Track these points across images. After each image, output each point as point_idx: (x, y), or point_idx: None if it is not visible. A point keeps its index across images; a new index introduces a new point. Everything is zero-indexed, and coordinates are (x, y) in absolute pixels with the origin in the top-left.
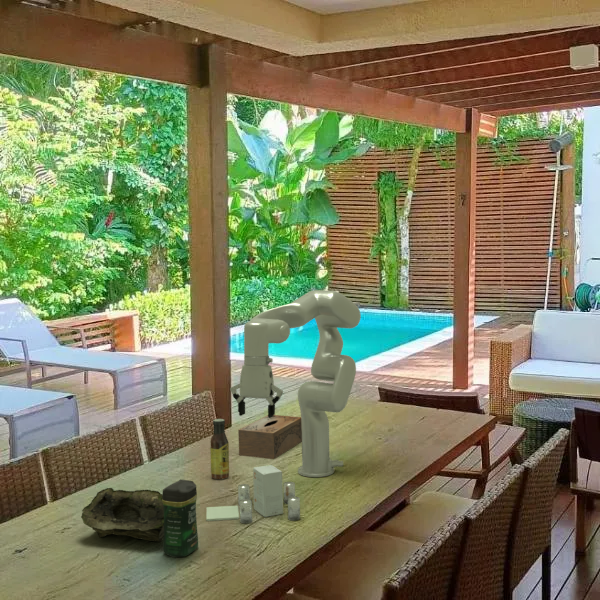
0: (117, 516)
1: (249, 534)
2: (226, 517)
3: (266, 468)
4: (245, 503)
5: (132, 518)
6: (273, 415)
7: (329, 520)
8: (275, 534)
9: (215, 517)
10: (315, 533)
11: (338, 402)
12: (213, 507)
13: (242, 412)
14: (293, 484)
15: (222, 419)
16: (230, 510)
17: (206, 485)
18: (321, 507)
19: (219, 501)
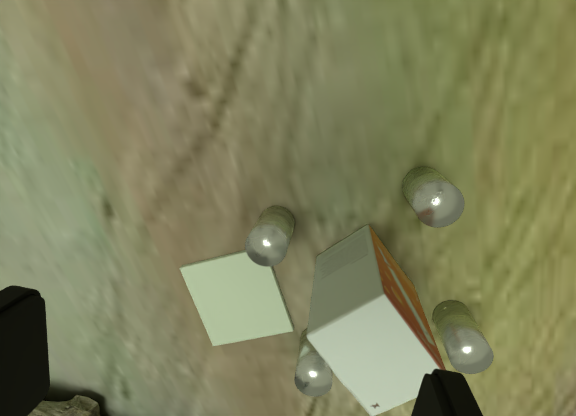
0: None
1: (345, 411)
2: (260, 334)
3: (371, 351)
4: (316, 395)
5: (57, 404)
6: (459, 381)
7: (563, 324)
8: (410, 411)
9: (231, 335)
10: (518, 405)
11: None
12: (198, 267)
13: (23, 390)
14: (459, 216)
15: None
16: (254, 286)
17: (85, 43)
18: (540, 221)
19: (192, 200)
